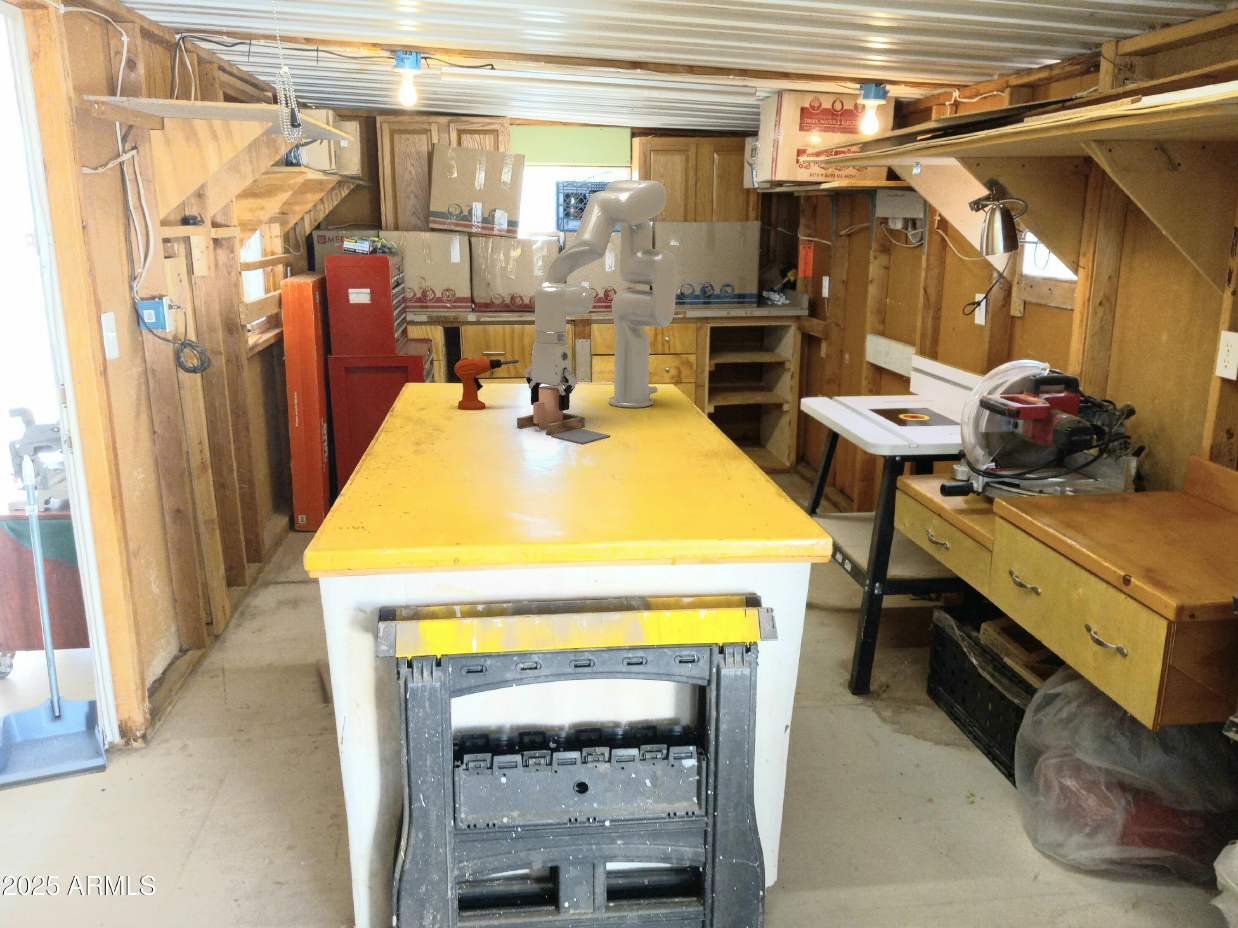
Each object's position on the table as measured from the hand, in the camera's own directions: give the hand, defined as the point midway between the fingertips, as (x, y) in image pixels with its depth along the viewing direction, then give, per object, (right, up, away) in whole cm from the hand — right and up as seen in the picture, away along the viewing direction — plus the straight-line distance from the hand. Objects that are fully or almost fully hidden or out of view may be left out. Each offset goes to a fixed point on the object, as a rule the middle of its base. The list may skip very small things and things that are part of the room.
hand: (549, 407), depth 228 cm
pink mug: (-1, -5, +1) cm, 5 cm away
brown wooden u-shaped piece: (0, -5, +2) cm, 5 cm away
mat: (+8, -8, -7) cm, 13 cm away
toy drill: (-19, +1, +22) cm, 29 cm away
